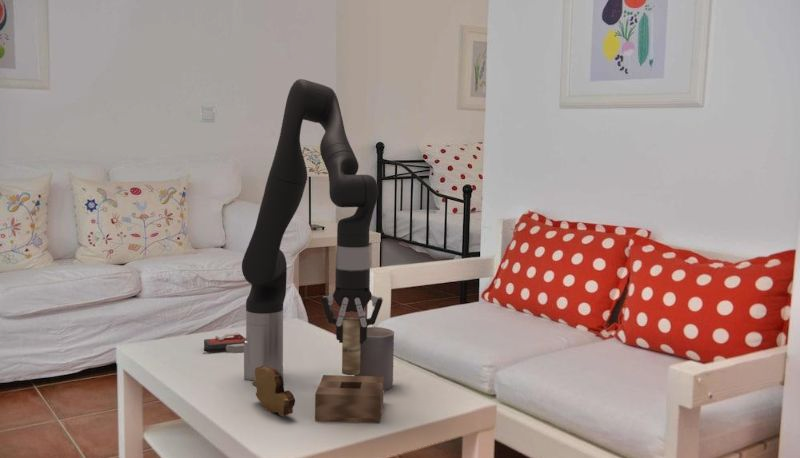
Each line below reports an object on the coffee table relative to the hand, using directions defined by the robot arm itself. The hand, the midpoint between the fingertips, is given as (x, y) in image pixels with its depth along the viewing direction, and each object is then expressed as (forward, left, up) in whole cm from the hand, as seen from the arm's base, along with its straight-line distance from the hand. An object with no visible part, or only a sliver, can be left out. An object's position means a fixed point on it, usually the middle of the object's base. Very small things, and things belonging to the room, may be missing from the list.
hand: (351, 342), depth 179 cm
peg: (0, 0, -7) cm, 7 cm away
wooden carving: (-17, -2, -16) cm, 23 cm away
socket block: (0, 0, -16) cm, 16 cm away
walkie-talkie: (-37, +50, -16) cm, 64 cm away
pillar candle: (+4, +19, -16) cm, 25 cm away
